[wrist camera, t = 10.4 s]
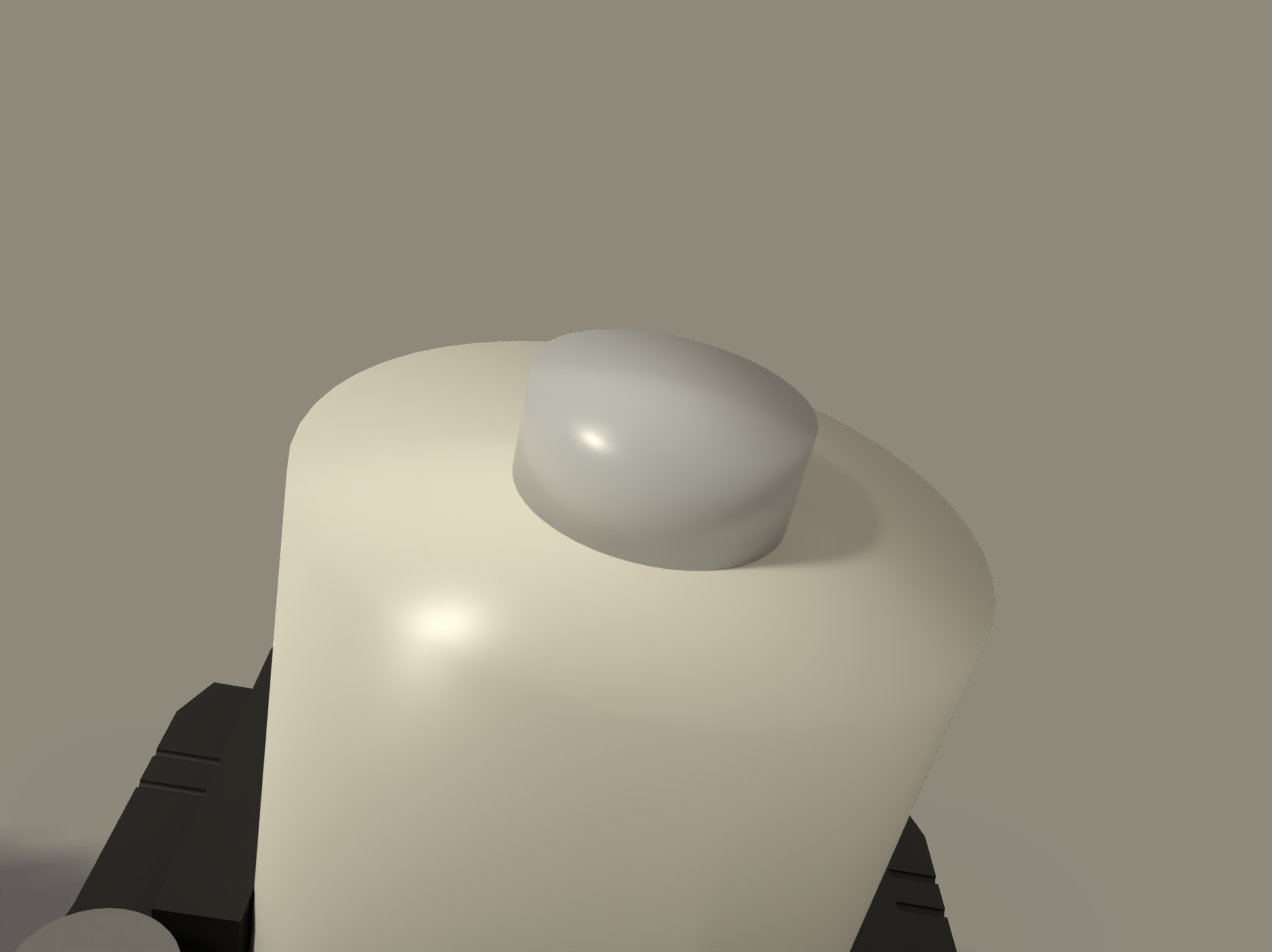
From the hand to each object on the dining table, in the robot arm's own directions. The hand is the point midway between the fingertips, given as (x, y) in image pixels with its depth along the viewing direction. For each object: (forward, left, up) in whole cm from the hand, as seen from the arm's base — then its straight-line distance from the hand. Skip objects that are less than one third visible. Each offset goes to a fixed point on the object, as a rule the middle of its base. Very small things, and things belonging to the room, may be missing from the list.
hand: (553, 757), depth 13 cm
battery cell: (0, -3, -7) cm, 7 cm away
